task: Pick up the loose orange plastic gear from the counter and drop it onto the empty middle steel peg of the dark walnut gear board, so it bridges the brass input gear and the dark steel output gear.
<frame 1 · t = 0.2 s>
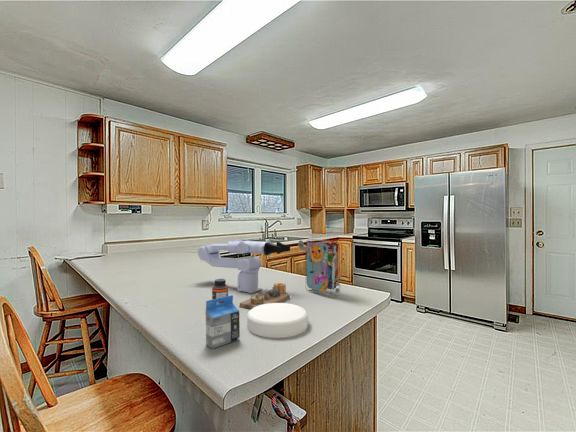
hand: (285, 249, 126), 21 cm above the worktop, tool horizontal, fingers open, 7 cm apart
supplement bottle: (220, 309, 109), on the worktop
idler gear: (279, 292, 132), on the worktop
gear board: (265, 302, 117), on the worktop
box: (315, 292, 134), on the worktop
container: (277, 326, 94), on the worktop
label tape box: (222, 343, 81), on the worktop
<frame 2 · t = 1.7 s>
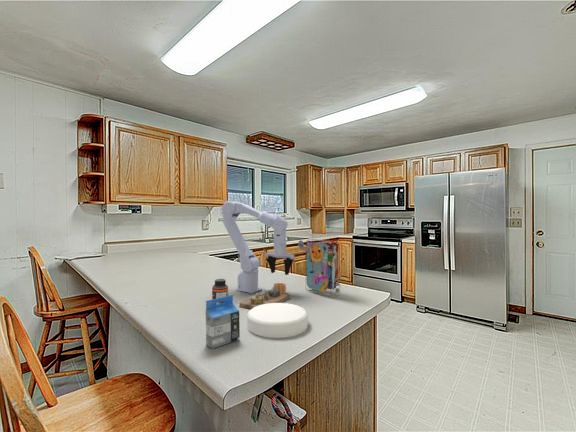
hand: (279, 273, 132), 9 cm above the worktop, tool pointing down, fingers open, 7 cm apart
nothing on the worktop moved.
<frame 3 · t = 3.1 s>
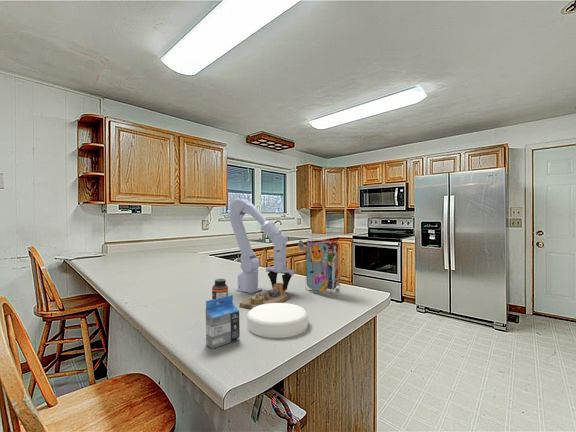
hand: (279, 288, 132), 2 cm above the worktop, tool pointing down, fingers closed on idler gear, 5 cm apart
idler gear: (279, 292, 132), on the worktop, touching gripper
everything else where it was.
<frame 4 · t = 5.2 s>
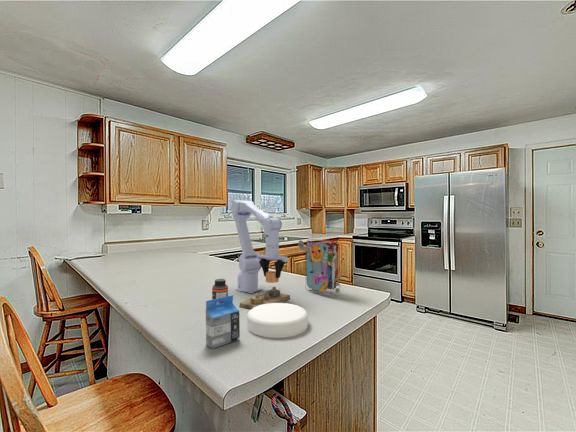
hand: (272, 277, 123), 9 cm above the worktop, tool pointing down, fingers closed on idler gear, 5 cm apart
idler gear: (272, 281, 123), point 7 cm above the worktop, touching gripper
everything else where it was.
when the fingers open (4 cm above the worktop, at t = 7.1 s): idler gear stays where it is, resting on gear board.
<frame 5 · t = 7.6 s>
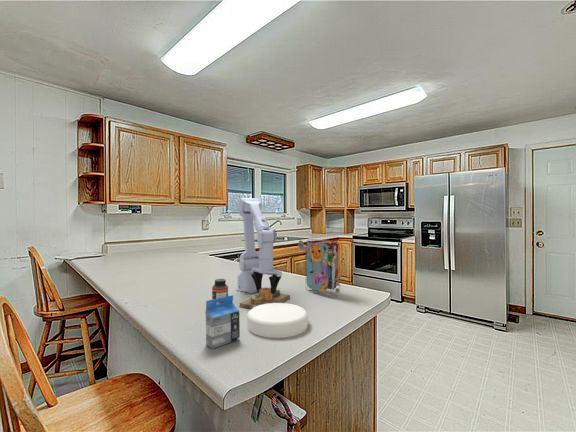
hand: (265, 291, 117), 4 cm above the worktop, tool pointing down, fingers open, 7 cm apart
idler gear: (266, 298, 117), point 1 cm above the worktop, touching gear board
everything else where it was.
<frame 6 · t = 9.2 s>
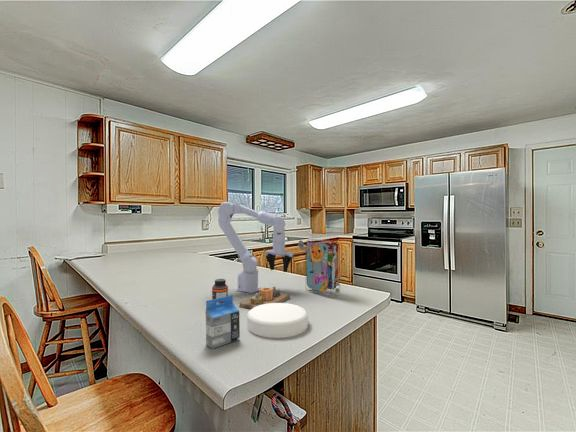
hand: (278, 270, 136), 9 cm above the worktop, tool pointing down, fingers open, 7 cm apart
nothing on the worktop moved.
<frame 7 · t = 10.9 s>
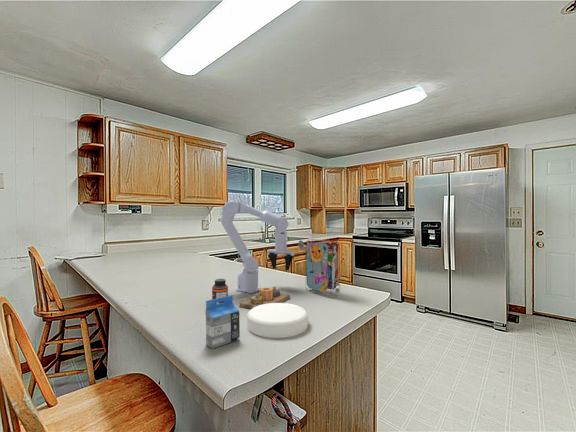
hand: (280, 269, 140), 9 cm above the worktop, tool pointing down, fingers open, 7 cm apart
nothing on the worktop moved.
at the end: idler gear 0.2 cm from the gear board (horizontally); idler gear point 1.5 cm above the worktop; idler gear tilted 0° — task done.
